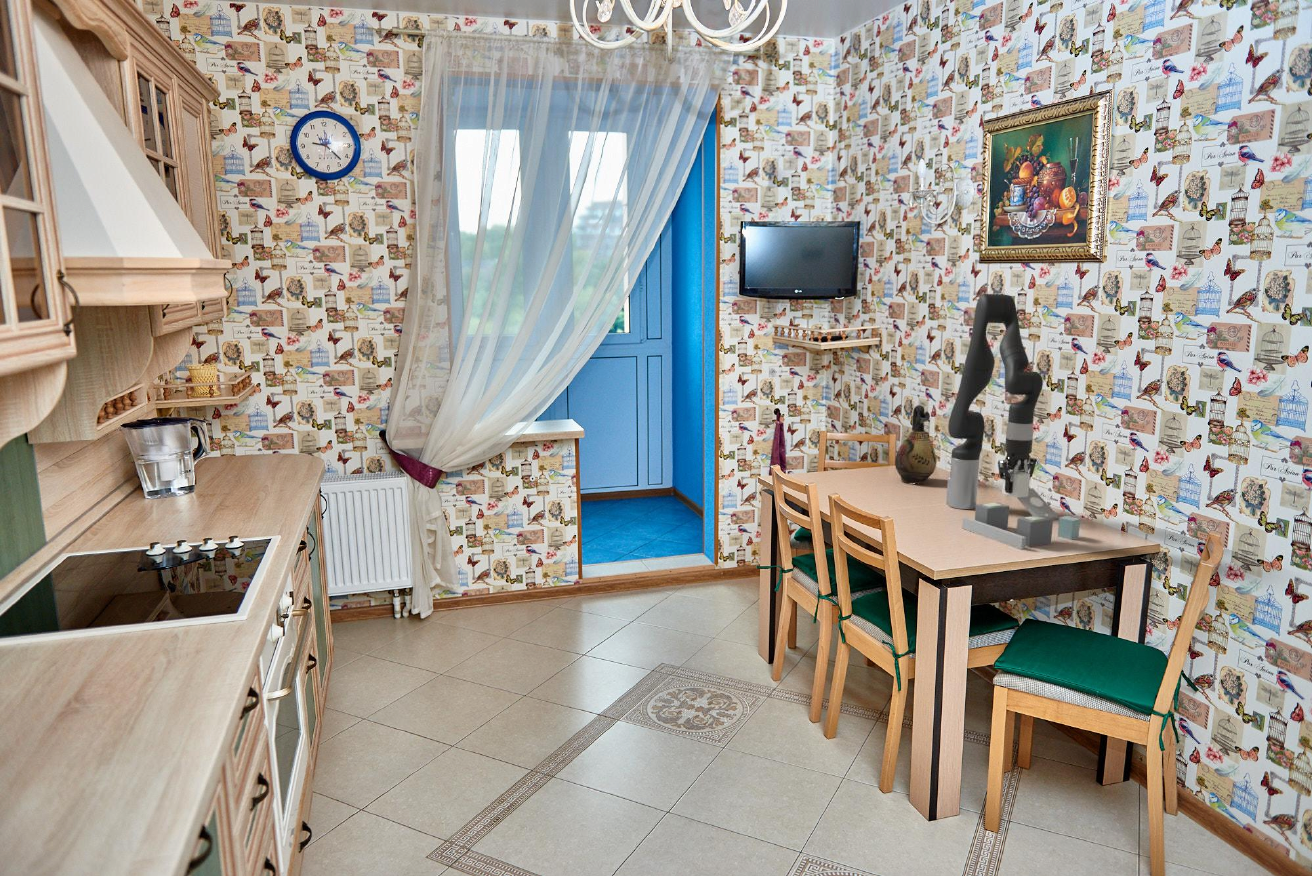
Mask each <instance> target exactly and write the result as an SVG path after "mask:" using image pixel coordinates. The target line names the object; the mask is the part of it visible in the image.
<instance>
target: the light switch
mask: <svg viewBox="0 0 1312 876" xmlns="http://www.w3.org/2000/svg"><path fill="white" fill-rule="evenodd" d="M1016 499H1017V500H1018V501H1019V502H1020V503H1021V504H1022V506H1024V508H1025V510H1027V511H1028V512H1029V514H1030V515H1031V516H1038V515H1041V516H1044V517H1047V518H1051V519H1055V520H1059V518H1060V516H1059V514H1057V513H1056V512H1055V510H1053V509H1052V507H1051V506H1050V505H1049V503H1047V501H1045V500H1044V499H1043V498H1042V496H1041V495H1040V494H1039V493H1038V492H1037V490H1035V488H1033V487H1032V488H1031V487H1029V492H1028V496H1026V497H1018V498H1017V497H1016Z"/></svg>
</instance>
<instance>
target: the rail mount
mask: <svg viewBox="0 0 1312 876" xmlns="http://www.w3.org/2000/svg"><path fill="white" fill-rule="evenodd" d="M1009 513H1010V505H1006V504H1003V503H1000V502H991V503H985V504H984V503H981V504H976V508H975V511H974V519H973V518H969V517H962V526H961V529H962V530H965V529H966V530H965V531H967V532H970V531H971V532H972V533H973V534H976V533H977V534H976V535H979V534H980V535H979V536H982V537H985V538H988V539H990V538H991V539H990V540H994V541H996V540H997V541H996V542H999V543H1002V542H1003V543H1002V544H1004V545H1007V544H1008V546H1010V545H1011V547H1013V546H1014V547H1013V548H1017V549H1019V550H1026V547H1027V548H1031V547H1036V546H1043V545H1048V544H1049V545H1051V543H1052V539H1053V538H1052V534H1053V525H1054V524H1053V523H1054V520H1053V519H1051V518H1047V517H1044V516H1041V515H1038V516H1032V515H1031V516H1026V517H1025V516H1024V517H1023V516H1022V517H1018V518H1017V521H1016V532H1012V531H1008V527H1009V516H1010V515H1009ZM1003 529H1004V530H1003ZM971 532H970V533H971ZM1030 546H1031V547H1030Z"/></svg>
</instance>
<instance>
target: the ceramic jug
mask: <svg viewBox="0 0 1312 876" xmlns="http://www.w3.org/2000/svg"><path fill="white" fill-rule="evenodd" d="M930 416H931V415H930V413H929V411H925V407H924V406H923V405H921V404H917V405H915V406H914V409H913V412H912V423H911V425H912V426H911V432H910V433H909V434H908V435H907V436H906V437H905V439H904V440H903V441H902V442H901V444H900V446H899V448H898V449H897V453H896V455H895V460H894V465H895V469H896V472H897V473H898V475H899V476H900V481H901V482H902V483H903V482H904V484H909V483H915V484H914V485H921V484H920V483H924V484H926V482H927V480H928V479H929V478H930V477H931V476H932V475H933V474H934V472H935V470H936V467H937V466H936V465H937V457H936V456H937V455H936V452H935V448H934V445H933V444H932V441H931V439H930V438H929V436H928V435H927V432H926V430H925V422H927V421H929V420H930Z"/></svg>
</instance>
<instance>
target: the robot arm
mask: <svg viewBox="0 0 1312 876" xmlns="http://www.w3.org/2000/svg"><path fill="white" fill-rule="evenodd" d="M972 323H973V324H972V330H971V336H970V340H969V341H970V342H969V346H968V350H967V353H966V354H967V355H966V358H965V361H964V365H963V369H962V375H961V379H960V384H959V387H958V392H957V394H956V398H955V401H954V404H953V406H952V409H951V412H950V416H949V419H948V425H947V426H948V427H947V428H948V434H949V436H950V437H951V438H952V439H958V440H959V439H961V440H965V439H966V440H965V441H964V442H963V443H962V444H960V445H959V446H956V447H954V448H953V449H952V450H951V459H950V460H951V462H950V474H949V475H950V476H949V477H947V486H946V487H947V488H946V489H947V490H946V502H945V504H946V505H948V507H951V508H955V509H958V510H959V509H960V510H973V509H976V505H977V500H978V499H977V497H978V487H979V486H978V485H979V474H980V473H979V472H980V471H979V469H980V460H981V459H980V457H981V453H982V449H983V444H984V443H983V442H984V436H985V435H984V434H985V419H984V416H983V414H982V413H981V412H979V411H969V409H970V407H971V405H972V404H973V402H974V400H975V399H976V398H977V397H978V396H979V395H980V394H981V393H982V392H983V391H984V390H985V389H986V387H987V386H988V385H989V384H990V381H992V380H991V379H992V376H993V372H994V369H995V363H996V362H995V361H996V360H995V357H994V354H993V351H992V348H991V346H990V344H989V341H988V338H987V330H988V329H987V328H988V325H989V324H1003V325H1004V327H1005V332H1004V334H1003V336H1002V338H1001V340H1000V341H1001V342H1000V343H999V354H1000V357H1001V361H1002V363H1003V365H1004V366H1003V367H1004V388H1005V390H1006V391H1007V393H1008V394H1009V395H1013V396H1024V397H1023V399H1022V400H1020V401H1016V402H1012V403H1011V404H1010V405H1009V406H1008V407H1009V408H1008V415H1007V418H1008V419H1007V425H1006V432H1005V433H1006V435H1005V447H1004V451H1005V452H1006V456H1005V459H1002V460H998V461H997V467H998V474H999V479H1002V480H1003V479H1004V480H1005V492H1006V493H1012V491H1013V482H1012V481H1013V479H1014V474H1017V471H1022V472H1025V473H1029V474H1030V478H1032V477H1033V474H1034V471H1035V468H1036V465H1037V462H1038V459H1037V458H1035V457H1031V456H1030V454H1032V452H1033V450H1032V449H1033V439H1034V419H1035V418H1034V415H1035V409H1036V406H1037V403H1038V400H1039V397H1040V395H1041V393H1042V390H1043V386H1044V380H1043V377H1042V375H1041V373H1040V372H1038V371H1034V370H1033V371H1031V370H1029V371H1025V370H1027V369H1028V367H1029V366H1030V365H1029V364H1030V361H1029V357H1028V355H1027V352H1026V350H1025V347H1024V343H1023V341H1022V337H1021V331H1020V324H1019V323H1020V322H1019V318H1018V311H1017V306H1016V302H1015V300H1014V298H1013V297H1012V296H1011V295H1009V294H1005V293H1004V294H1000V293H983V294H981V295H980V296H979V298H978V300H977V301H976V305H975V311H974V317H973V322H972ZM1010 470H1013V471H1010ZM1009 473H1011V475H1010V477H1009Z"/></svg>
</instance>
